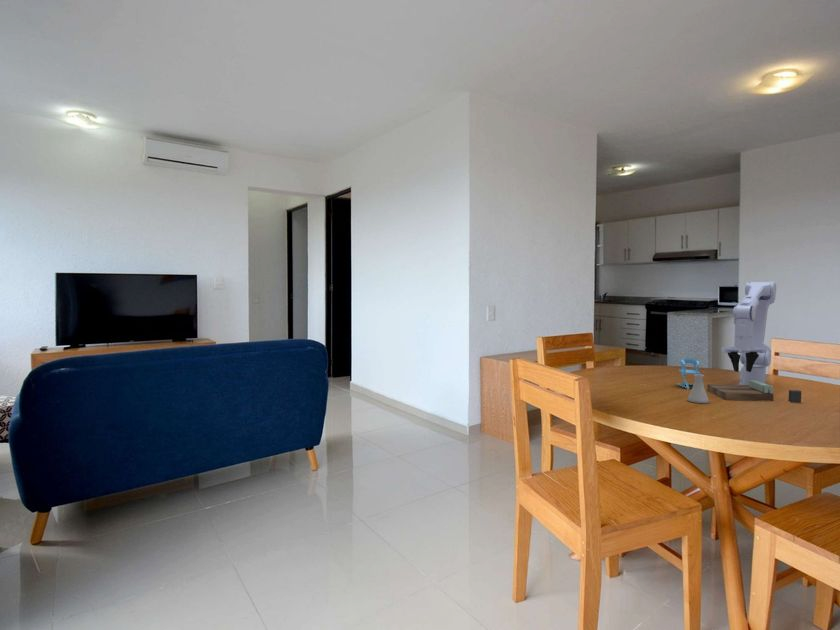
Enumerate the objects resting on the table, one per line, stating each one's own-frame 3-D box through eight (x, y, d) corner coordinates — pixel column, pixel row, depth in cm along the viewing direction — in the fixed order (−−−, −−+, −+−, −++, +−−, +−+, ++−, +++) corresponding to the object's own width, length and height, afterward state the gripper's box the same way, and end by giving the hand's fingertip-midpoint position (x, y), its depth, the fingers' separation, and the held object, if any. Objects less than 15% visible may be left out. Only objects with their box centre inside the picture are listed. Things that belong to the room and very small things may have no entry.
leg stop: (788, 401, 176) (788, 389, 176) (797, 401, 175) (797, 390, 175) (791, 402, 174) (792, 391, 174) (801, 402, 173) (801, 391, 173)
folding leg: (772, 393, 177) (773, 386, 176) (765, 393, 177) (765, 386, 177) (756, 386, 188) (756, 380, 187) (749, 386, 188) (749, 380, 188)
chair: (681, 389, 198) (681, 360, 197) (676, 385, 206) (677, 357, 205) (702, 390, 195) (703, 361, 194) (697, 385, 203) (697, 357, 202)
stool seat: (707, 390, 195) (707, 384, 195) (750, 391, 192) (750, 384, 192) (726, 399, 179) (726, 393, 179) (773, 400, 177) (773, 394, 176)
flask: (712, 404, 173) (713, 377, 173) (691, 403, 175) (691, 376, 174) (705, 399, 180) (705, 373, 180) (684, 398, 182) (684, 372, 181)
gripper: (728, 337, 181) (727, 373, 182) (770, 337, 179) (768, 373, 180) (719, 335, 188) (718, 369, 189) (759, 335, 186) (758, 370, 187)
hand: (742, 371), depth 185 cm, fingers open, 4 cm apart
